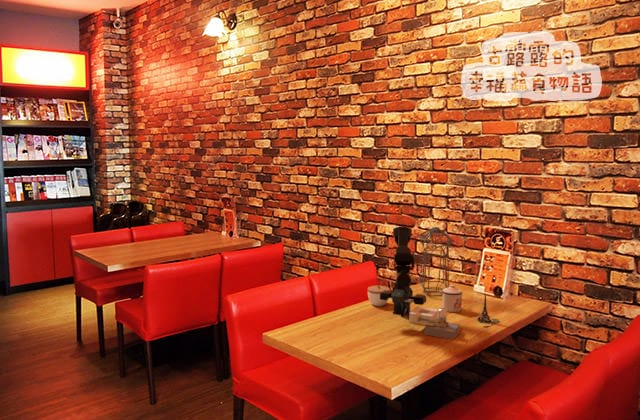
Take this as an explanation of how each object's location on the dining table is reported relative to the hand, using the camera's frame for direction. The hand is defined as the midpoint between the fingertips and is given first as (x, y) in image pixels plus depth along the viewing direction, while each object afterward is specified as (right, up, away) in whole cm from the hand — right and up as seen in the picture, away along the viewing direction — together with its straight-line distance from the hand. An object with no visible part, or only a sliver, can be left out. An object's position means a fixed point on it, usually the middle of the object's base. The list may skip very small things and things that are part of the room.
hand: (402, 317), depth 228 cm
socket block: (+15, -5, -7) cm, 17 cm away
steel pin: (+15, -5, -7) cm, 17 cm away
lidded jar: (-7, 0, +33) cm, 33 cm away
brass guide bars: (+11, -2, -5) cm, 12 cm away
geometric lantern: (+24, +2, +49) cm, 54 cm away
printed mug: (+27, -1, +25) cm, 37 cm away
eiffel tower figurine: (+37, -4, +7) cm, 38 cm away
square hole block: (+11, -3, +9) cm, 14 cm away
